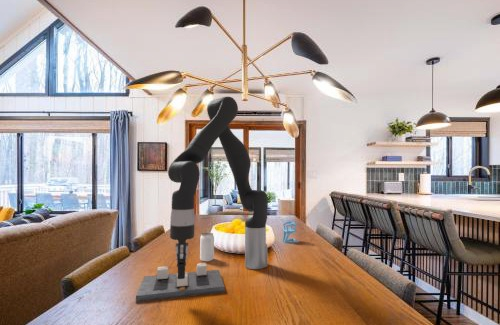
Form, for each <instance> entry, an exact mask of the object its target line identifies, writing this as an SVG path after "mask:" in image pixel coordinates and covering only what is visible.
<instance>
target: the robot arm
mask: <svg viewBox="0 0 500 325" xmlns="http://www.w3.org/2000/svg"><path fill="white" fill-rule="evenodd" d="M206 106H207V107H206V111H207V115H208V118H209V122H208V123H207V124H206V125H205V126H204V127H203V128H201V129H200V130H199V131H198V132H197V133H196V134H195V136H194V137H193V138H192V139H191V141H190V142H189V144H188V145H187V147H186V149H184V151H183V152H181V153H180V154H179V155H178V156H177V157H175V158H174V160H172V162H171V163H170V165H169V167H168V172H167V174H168V178H169V180H170V181H172V182H174V183H176V184H177V183H179V184H180V186H179V188H178V189H177V190H175V191H173V192H172V195H171V196H172V197H171V212H170V224H169V225H170V228H169V229H170V230H169V238H170V239H171V240H173V241H177V242H176V243H175V247H174V248H175V260H176V262H177V263H176V266H177V273H178V279H184V278H185V273H186V266H187V262H186V260H187V259H188V252H189V242H187V240H191V239H193V238H195V218H196V216H195V196H196V195H195V194H196V192H197V188H198V184H199V180H200V175H201V174H200V172H201V171H200V168H199V166H198V164H200V163H201V162H203V161H204V160H205V159H206V157H207V155H208V153H209V152H210V150H211V149H212V147H213V146H214V144H215V142H216V141H217V139H219V141H220V144H221V147H222V149H223V152H224V154H225V158H226V161H227V163H228V165H229V167H230V171H231V173H232V176H233V179H234V182H235V185H236V189H237V193H238V196H239V200H240V203H241V206H242V207H243V208H244V210H247V211H253V213H252V216H251V217H250V218H246V220H244V267H245V268H246V269H249V270H262V269H265V268H268V244H267V237H266V236H267V232H266V231H267V228H266V226H267V220H268V208H269V206H268V205H269V200H268V195H267V193H266V191H264V190H259V189H252V186H251V184H250V181H249V175H250V170H251V167H252V164H251V163H252V161H251V158H250V156H249V151H248V149H247V148H246V145H245V144H244V143H243V142H242V141H241V140H240V139H239V138H238V137H237V136H236V135H235V134H234V132H232V130H231V128H230V126H229V125H230V124H231V123H232V121H234V119H235V118H236V117H237V115H238V111H239V106H238V103H237V101H236V99H235V98H233V97H232V96H223V97H218V98H216V99H213V100H210V101H209V102H208V103H207V105H206Z"/></svg>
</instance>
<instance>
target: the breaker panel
mask: <svg viewBox="0 0 500 325" xmlns="http://www.w3.org/2000/svg"><path fill="white" fill-rule="evenodd" d="M187 273H188V286H179V287H177V273H168V278H167V279H157V275H146V276H145V275H144V276H143V278H142V281H141V283H140V285H139V287H138V290H137V292H136V294H135V303H142V302H143V303H144V302H150V301H153V302H154V301H159V300H167V299H168V300H169V299H178V298H186V297H198V296H205V294H206V295H213V294H221V293H222V294H223V293H225V285H224V281H223V278H222V275H221V272H220V270H219V269H210V270H207V275H199V276H197V271H192V272H191V271H190V272H189V271H188V272H187Z"/></svg>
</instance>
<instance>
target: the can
mask: <svg viewBox="0 0 500 325" xmlns="http://www.w3.org/2000/svg"><path fill="white" fill-rule="evenodd" d="M199 242H200V243H199V245H200V246H199V252H200V253H199V260H200V261H201V262H203V263H207V262H212V261H214V260H215V237H214V233H213V232H204V233H203V232H202V233H201V235H200V238H199Z"/></svg>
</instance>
